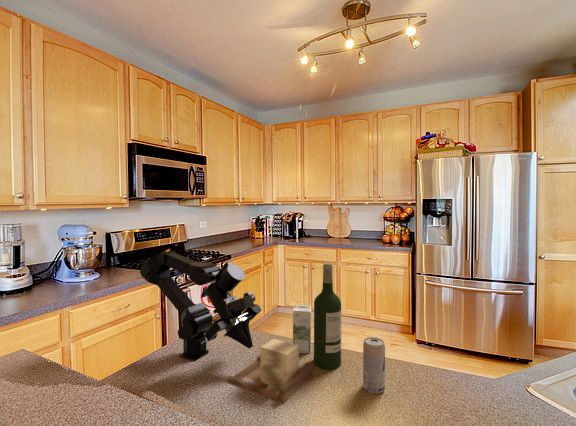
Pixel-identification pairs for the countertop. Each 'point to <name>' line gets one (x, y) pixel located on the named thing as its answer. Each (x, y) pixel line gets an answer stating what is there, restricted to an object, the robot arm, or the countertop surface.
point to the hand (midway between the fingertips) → (251, 347)
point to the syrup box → (302, 328)
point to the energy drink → (374, 365)
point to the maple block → (278, 362)
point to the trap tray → (268, 390)
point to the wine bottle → (327, 324)
